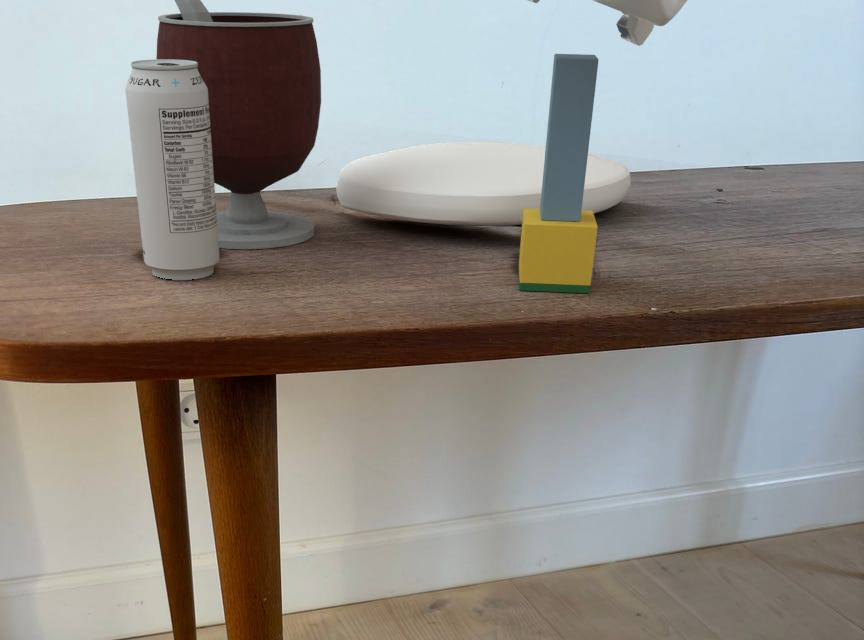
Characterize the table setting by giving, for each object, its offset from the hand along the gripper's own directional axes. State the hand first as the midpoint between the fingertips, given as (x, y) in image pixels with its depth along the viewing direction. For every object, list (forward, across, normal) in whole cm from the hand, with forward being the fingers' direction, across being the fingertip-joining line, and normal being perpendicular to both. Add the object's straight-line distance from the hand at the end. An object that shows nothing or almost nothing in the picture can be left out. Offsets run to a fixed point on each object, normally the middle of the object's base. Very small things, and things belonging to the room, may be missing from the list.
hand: (586, 12), depth 73 cm
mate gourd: (+10, +26, +24) cm, 37 cm away
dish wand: (+13, -3, +14) cm, 19 cm away
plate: (+26, +17, +8) cm, 32 cm away
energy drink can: (0, +18, +31) cm, 36 cm away
